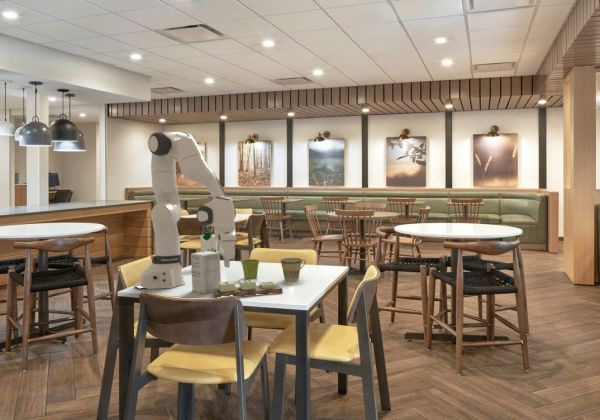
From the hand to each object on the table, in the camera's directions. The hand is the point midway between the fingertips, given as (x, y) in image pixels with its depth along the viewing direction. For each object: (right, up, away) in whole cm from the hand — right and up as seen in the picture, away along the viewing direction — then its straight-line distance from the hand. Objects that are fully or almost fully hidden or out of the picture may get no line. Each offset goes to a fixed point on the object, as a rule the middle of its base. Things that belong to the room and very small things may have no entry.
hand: (227, 267), depth 211 cm
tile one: (0, -10, +1) cm, 10 cm away
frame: (+8, -12, +4) cm, 15 cm away
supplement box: (-11, -12, +11) cm, 19 cm away
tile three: (+17, -11, +6) cm, 21 cm away
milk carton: (-20, -8, +71) cm, 74 cm away
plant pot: (+6, -10, +37) cm, 39 cm away
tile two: (+8, -9, +4) cm, 13 cm away
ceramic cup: (+28, -10, +31) cm, 43 cm away
